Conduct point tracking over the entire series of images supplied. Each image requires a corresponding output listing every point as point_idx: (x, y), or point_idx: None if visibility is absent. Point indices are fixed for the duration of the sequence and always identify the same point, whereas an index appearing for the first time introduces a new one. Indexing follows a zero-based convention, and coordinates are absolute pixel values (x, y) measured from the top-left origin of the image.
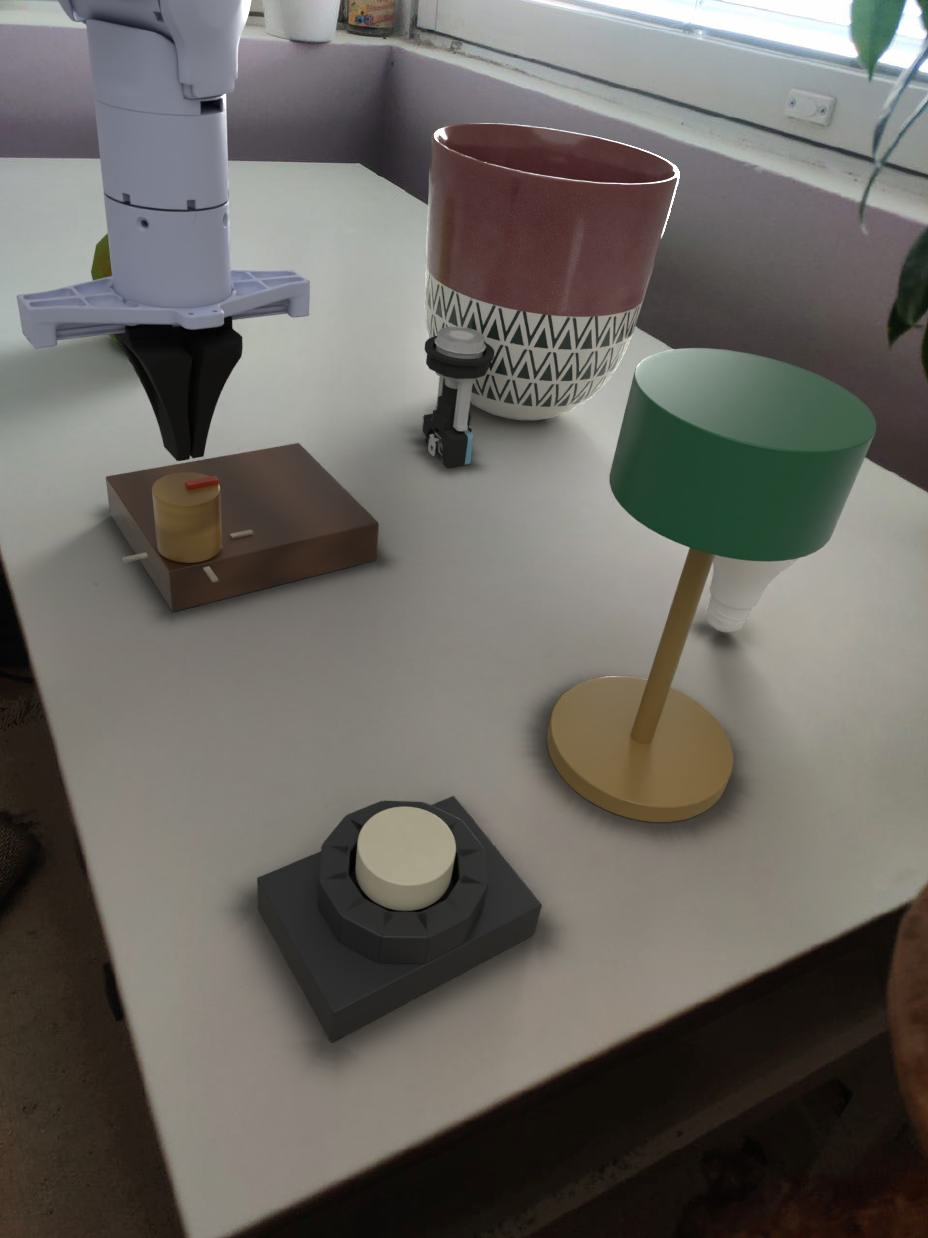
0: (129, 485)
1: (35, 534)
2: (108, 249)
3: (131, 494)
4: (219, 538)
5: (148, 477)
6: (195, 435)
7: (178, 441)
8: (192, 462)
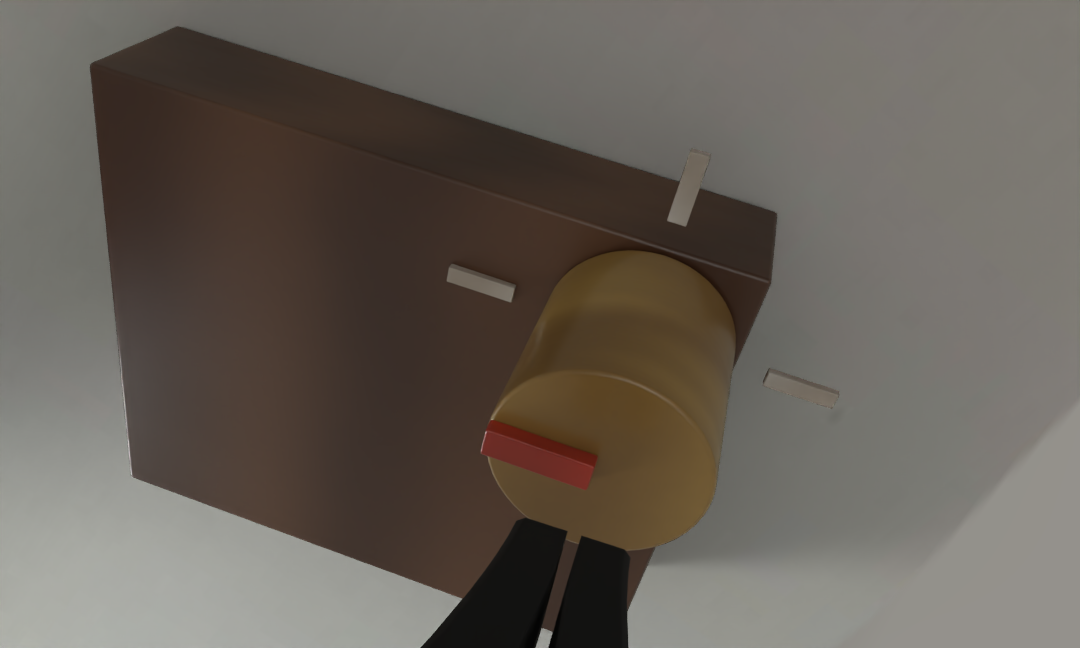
0: None
1: (800, 614)
2: None
3: None
4: (577, 282)
5: None
6: (536, 605)
7: (619, 621)
8: (403, 572)
